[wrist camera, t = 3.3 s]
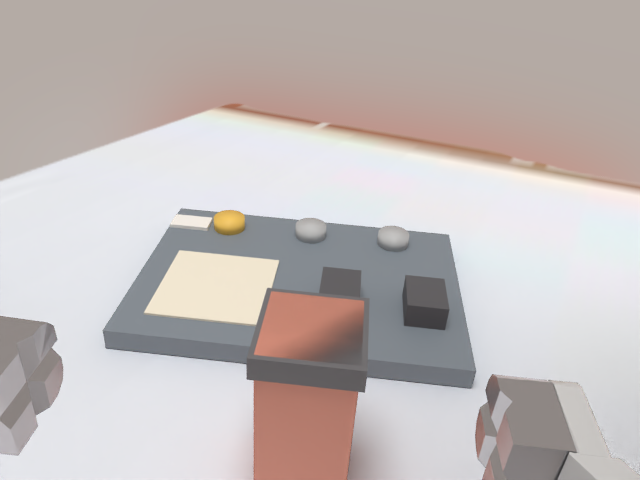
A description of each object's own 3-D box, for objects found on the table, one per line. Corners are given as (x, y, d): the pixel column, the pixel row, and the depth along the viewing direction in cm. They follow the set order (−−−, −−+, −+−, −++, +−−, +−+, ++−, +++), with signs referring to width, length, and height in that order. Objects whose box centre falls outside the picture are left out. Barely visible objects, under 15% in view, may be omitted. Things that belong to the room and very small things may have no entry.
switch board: (445, 249, 51) (452, 216, 50) (471, 388, 37) (482, 349, 35) (182, 222, 52) (179, 190, 51) (105, 348, 38) (99, 308, 36)
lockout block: (351, 438, 33) (369, 298, 28) (346, 518, 29) (367, 371, 23) (265, 428, 33) (267, 287, 28) (248, 506, 29) (246, 358, 24)
